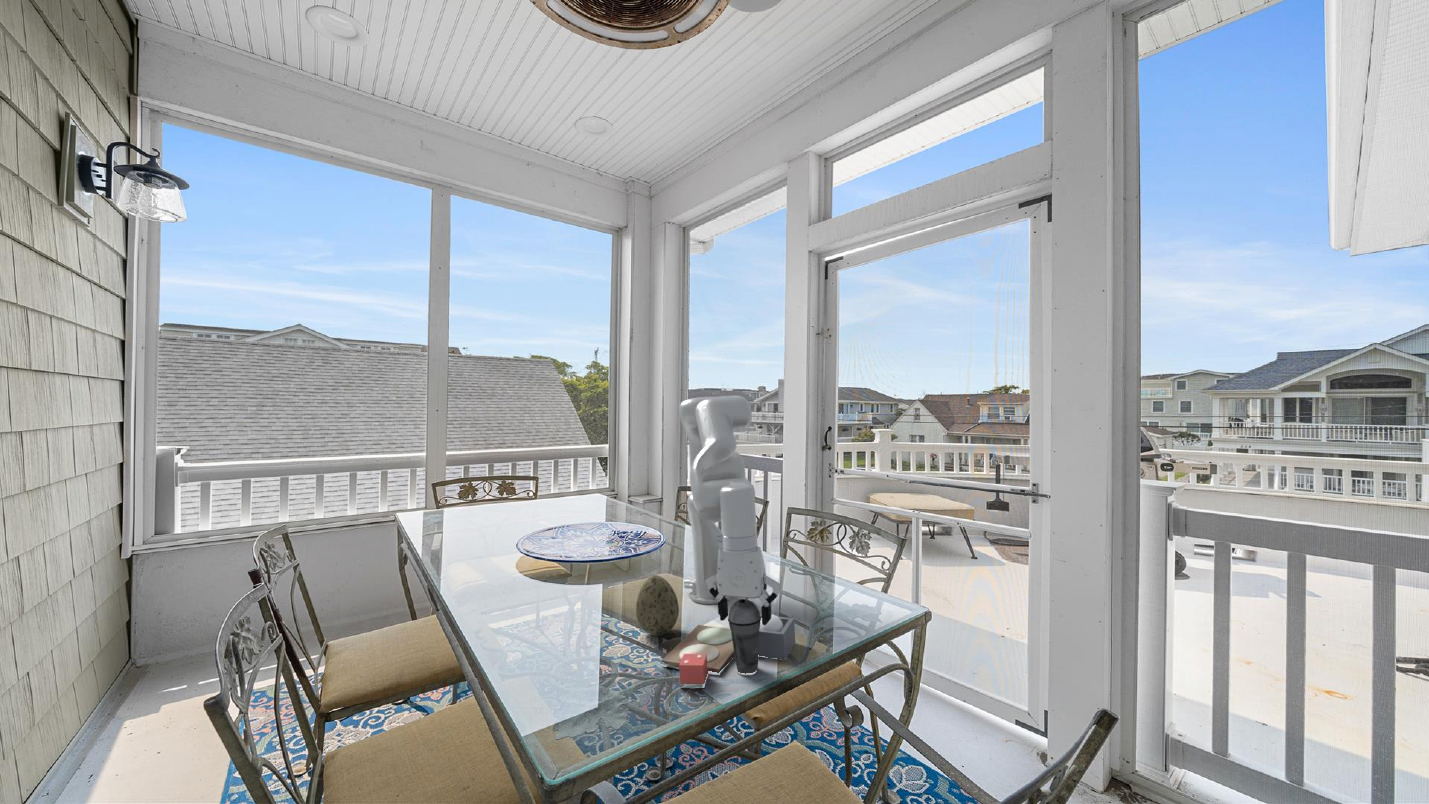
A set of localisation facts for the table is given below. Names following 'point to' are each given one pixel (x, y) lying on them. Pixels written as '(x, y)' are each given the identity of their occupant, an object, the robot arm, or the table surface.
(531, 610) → the table surface
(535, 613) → the table surface
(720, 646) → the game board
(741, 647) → the beverage cup
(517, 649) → the table surface
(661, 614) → the decorative egg
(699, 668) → the die
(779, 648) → the housing
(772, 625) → the white ball
